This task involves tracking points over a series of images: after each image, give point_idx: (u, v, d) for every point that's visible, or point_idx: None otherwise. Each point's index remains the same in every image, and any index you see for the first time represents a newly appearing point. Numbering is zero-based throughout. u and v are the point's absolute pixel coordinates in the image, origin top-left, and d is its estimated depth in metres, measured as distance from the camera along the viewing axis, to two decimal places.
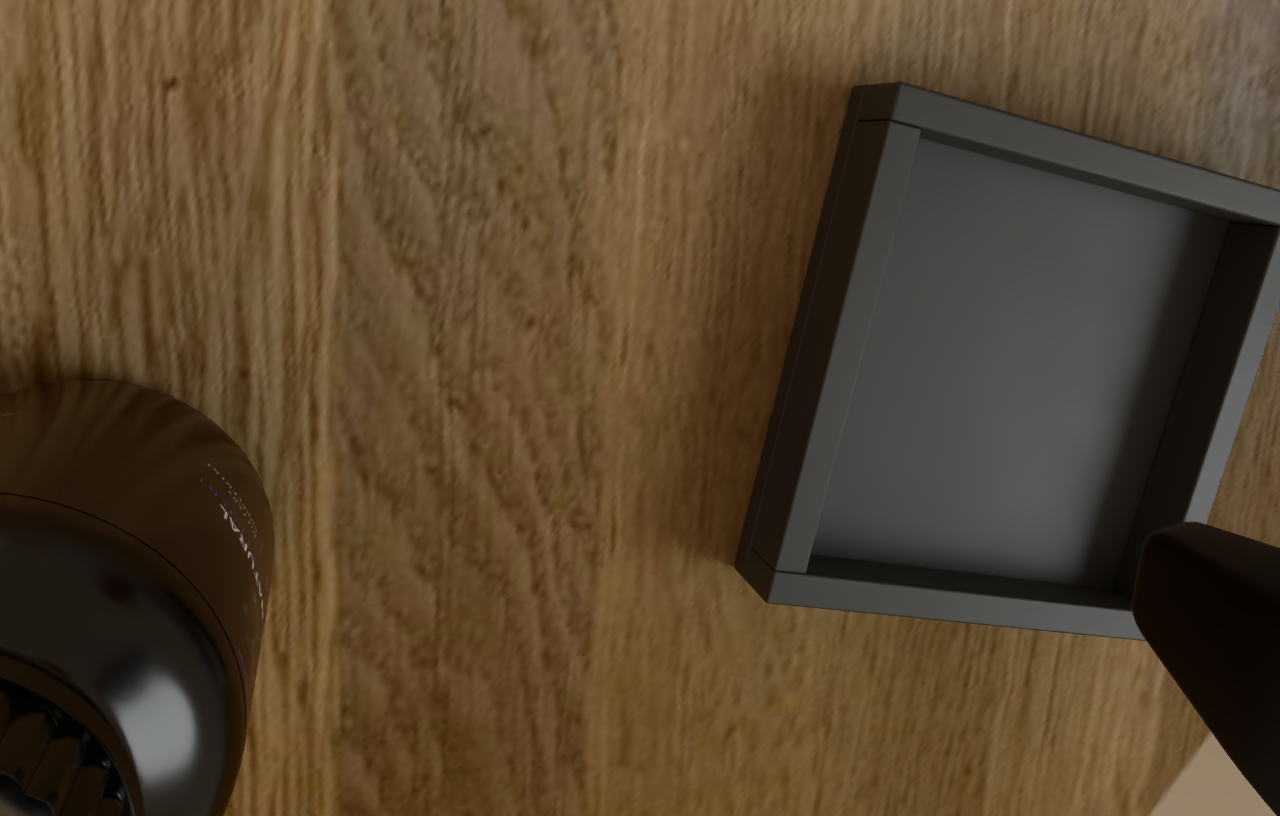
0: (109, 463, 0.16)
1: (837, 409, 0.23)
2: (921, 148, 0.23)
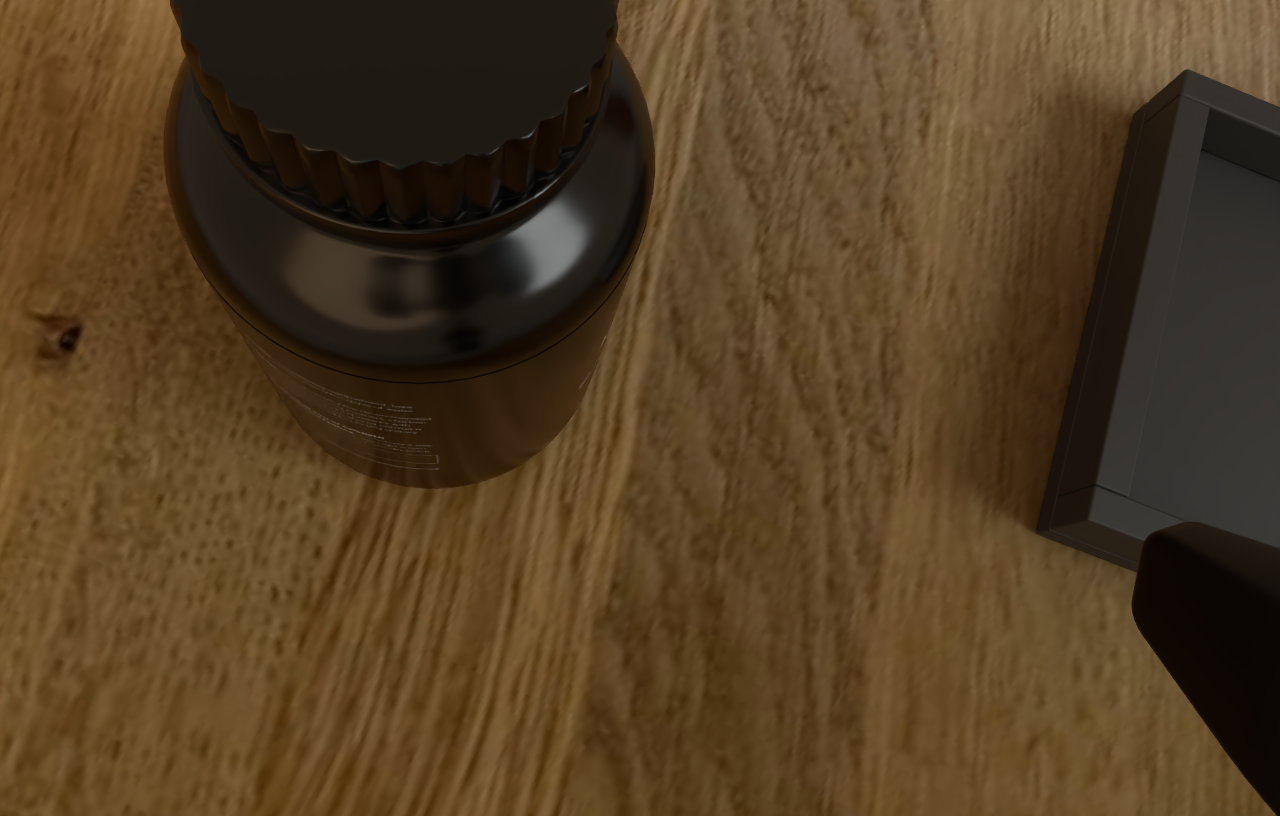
0: None
1: (1151, 330, 0.23)
2: (1203, 159, 0.26)
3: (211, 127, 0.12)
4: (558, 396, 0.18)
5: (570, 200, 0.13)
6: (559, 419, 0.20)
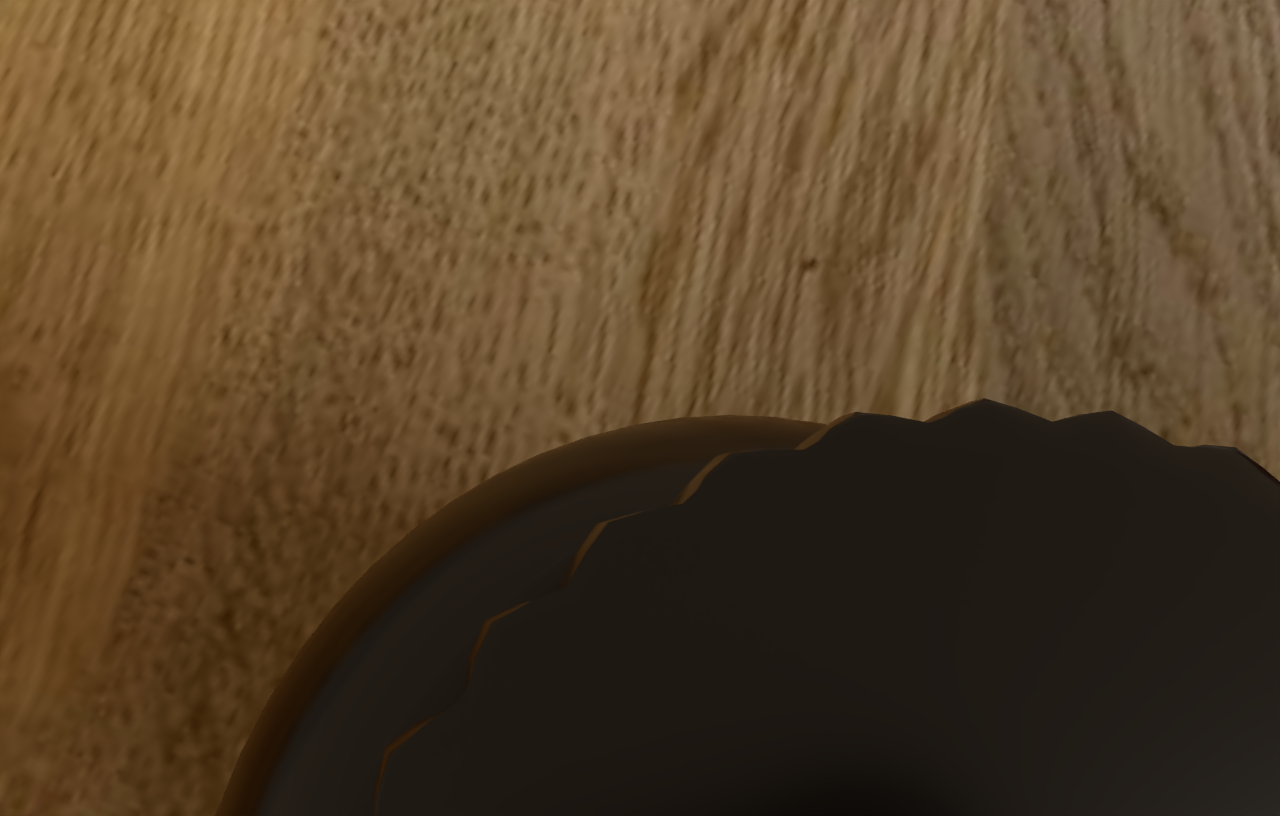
0: None
1: None
2: None
3: None
4: None
5: None
6: None
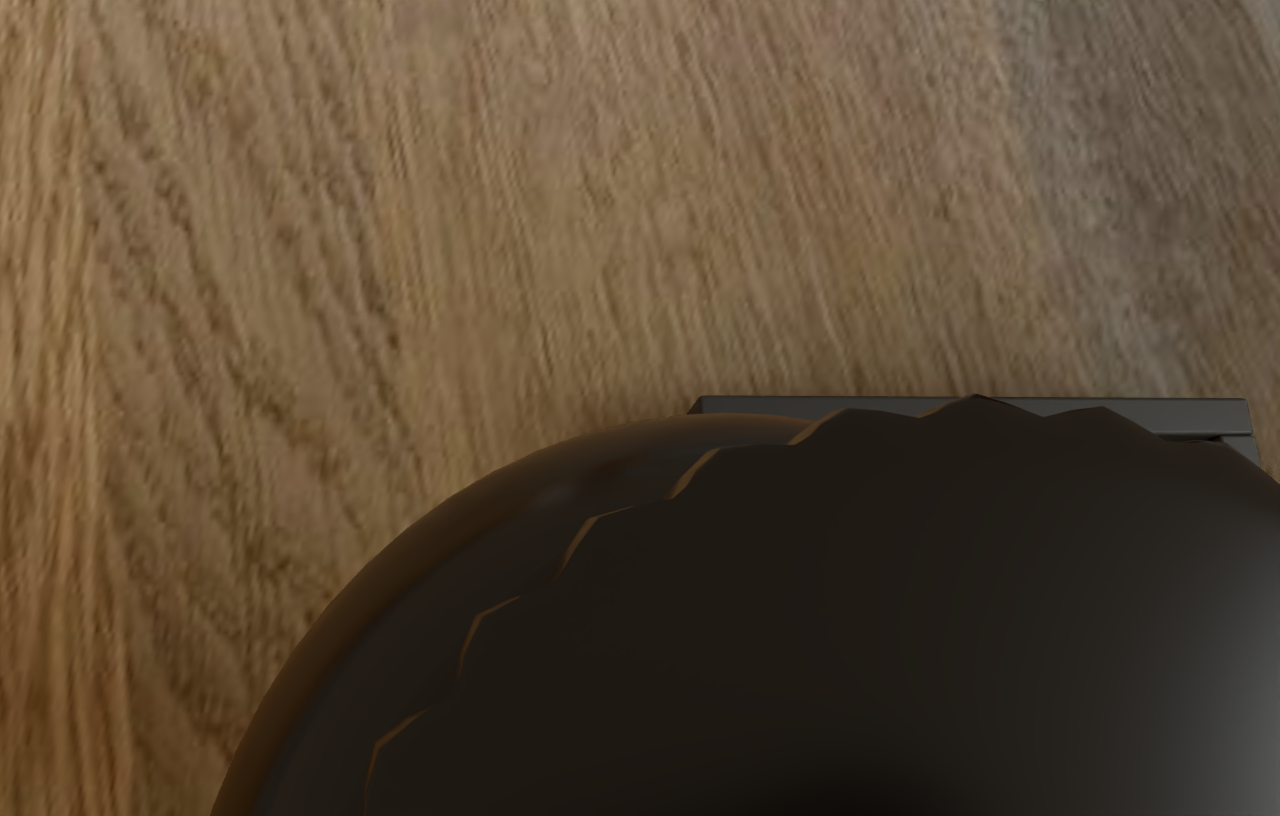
0: None
1: None
2: None
3: None
4: None
5: None
6: None
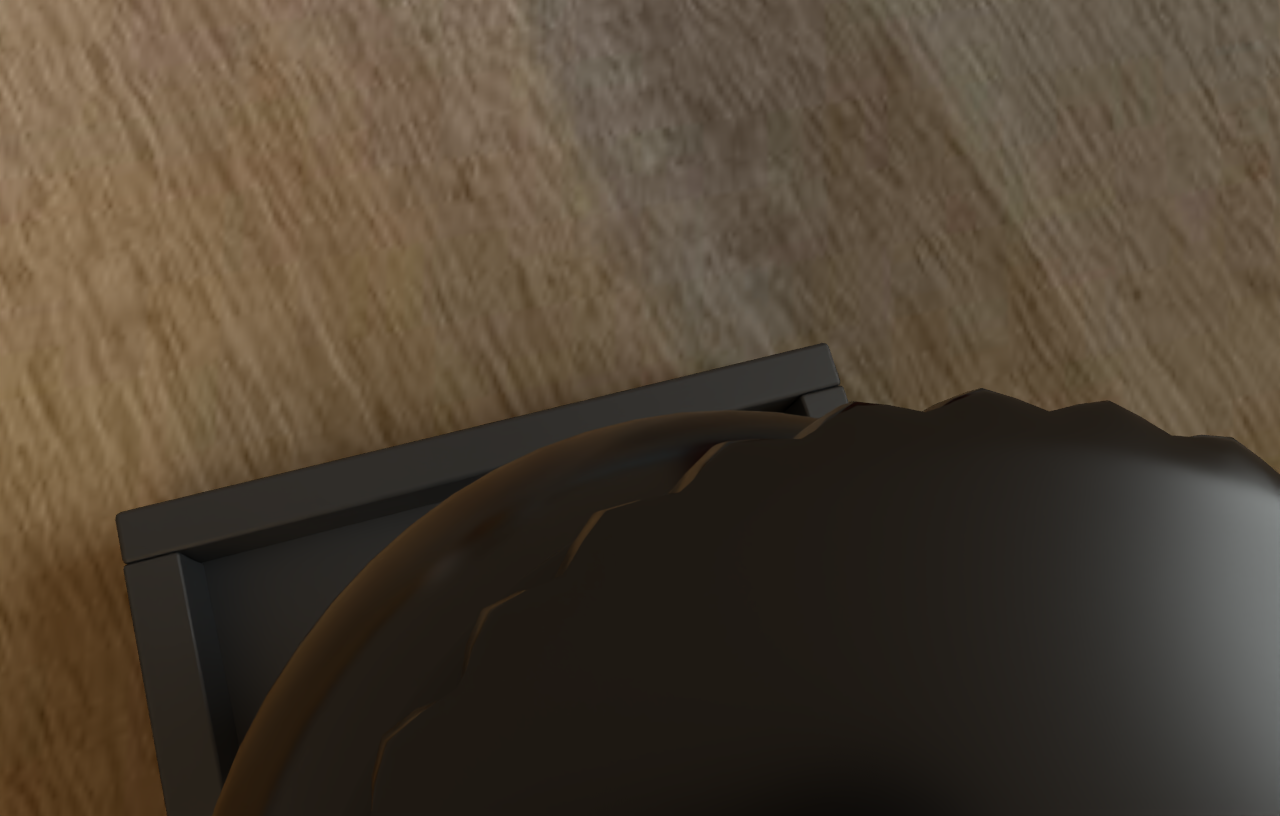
0: None
1: None
2: (267, 559, 0.17)
3: None
4: None
5: None
6: None
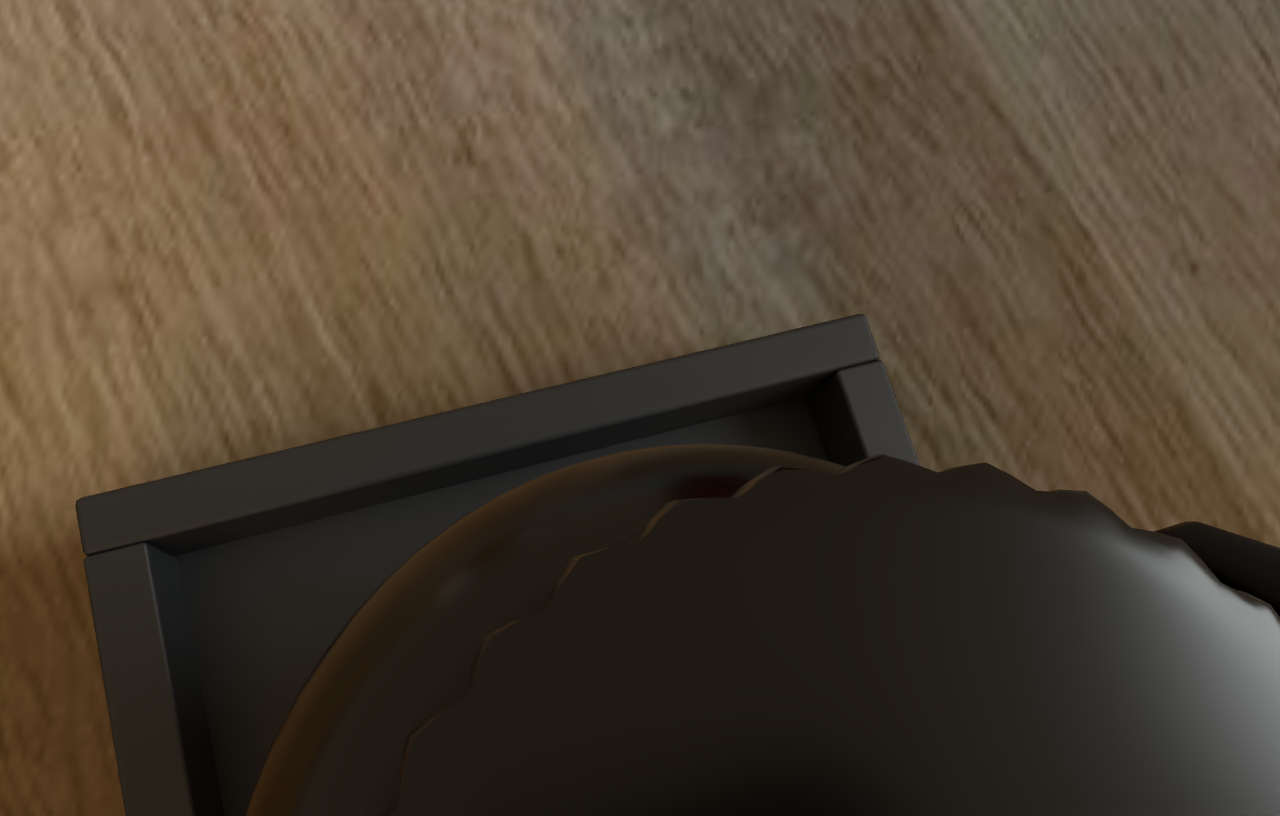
0: None
1: None
2: (247, 552, 0.15)
3: None
4: None
5: None
6: None
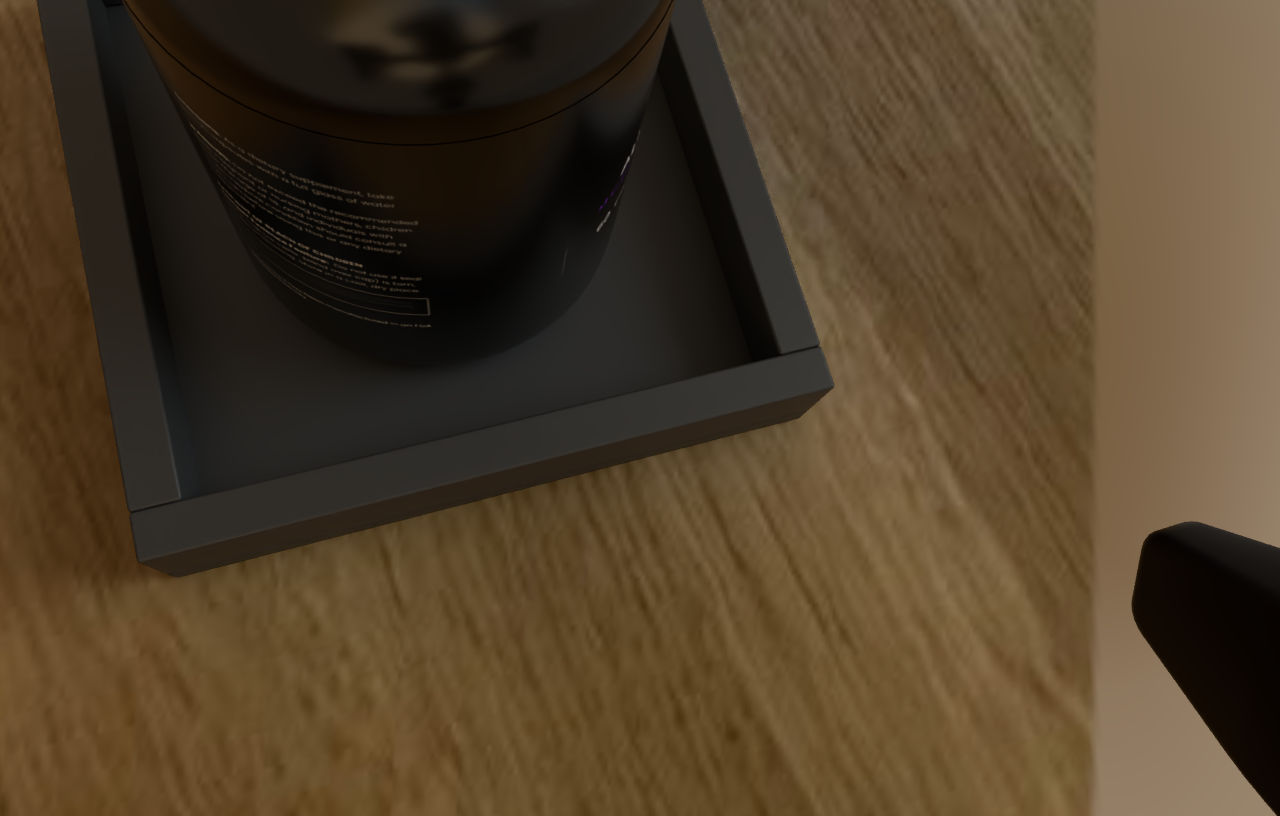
0: None
1: (119, 276, 0.17)
2: None
3: None
4: (572, 224, 0.15)
5: None
6: (572, 274, 0.17)
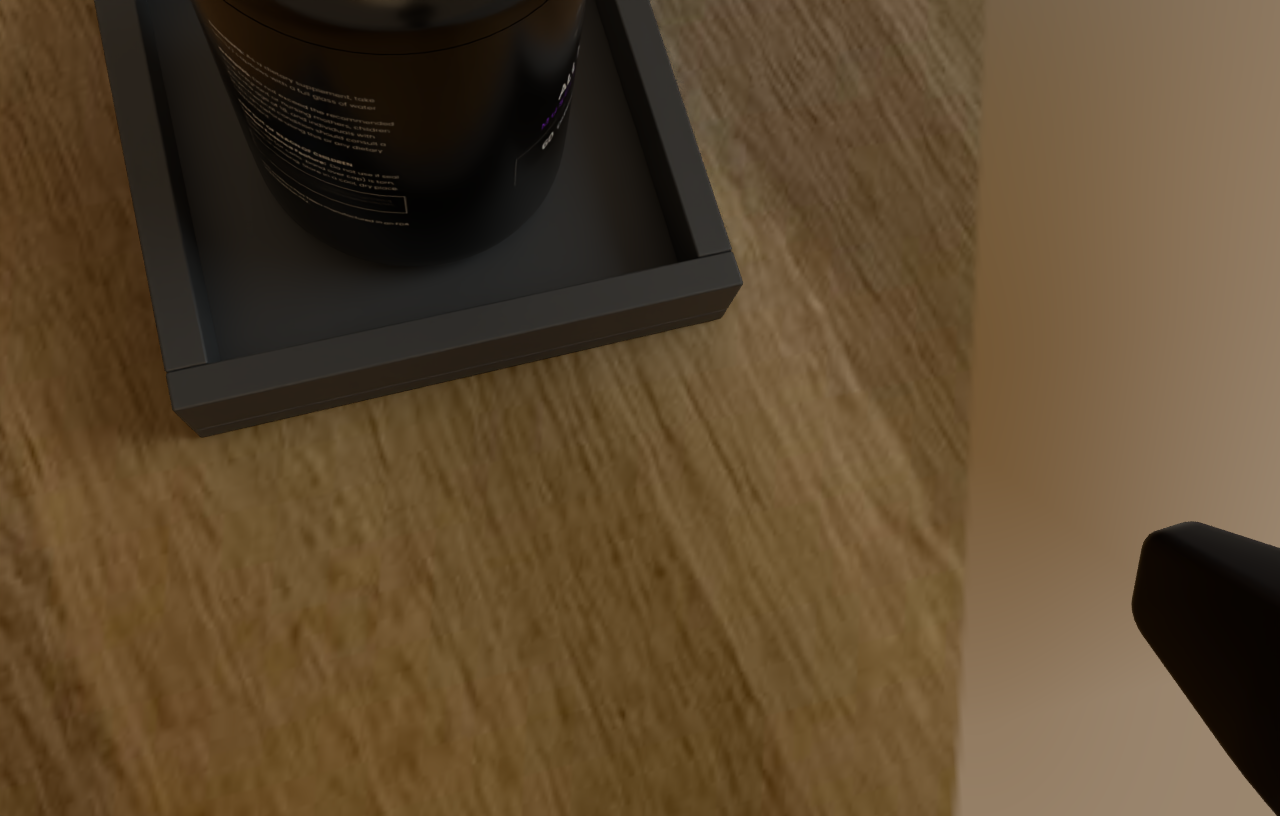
0: None
1: (157, 187, 0.21)
2: None
3: None
4: (519, 136, 0.19)
5: None
6: (524, 186, 0.21)
